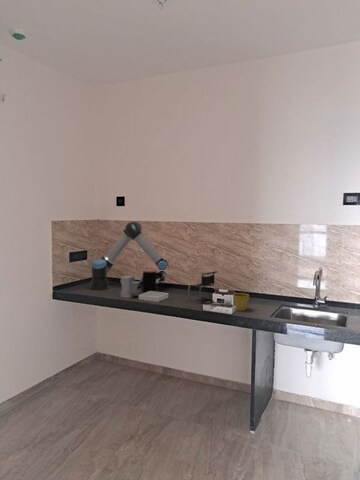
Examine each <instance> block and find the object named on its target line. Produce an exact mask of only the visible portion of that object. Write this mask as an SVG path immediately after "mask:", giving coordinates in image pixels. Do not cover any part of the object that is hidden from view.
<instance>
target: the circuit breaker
mask: <svg viewBox="0 0 360 480" xmlns="http://www.w3.org/2000/svg"><path fill="white" fill-rule="evenodd" d="M120 284H121V290H120V298H122V297H123V298H124V299H132V298H133V297H134V296H135V294H138V293H139V292H140V291H141V288H142V286H141V282H140V281H139V280H138V281H137V280H135V276H133V275H123V276H122V277H120Z"/></svg>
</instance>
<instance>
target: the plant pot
mask: <svg viewBox="0 0 360 480" xmlns="http://www.w3.org/2000/svg"><path fill="white" fill-rule="evenodd" d="M232 300H233V301H234V302H233V303H234V307H235V306H236V308H235V310H236V311H241V312H243V311H246V310H247V307H248V306H247V305H248V301H249V300H250V295H249V294H248V293H245V292H244V293H243V292H238V293H237V292H236V293H233V294H232Z"/></svg>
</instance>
